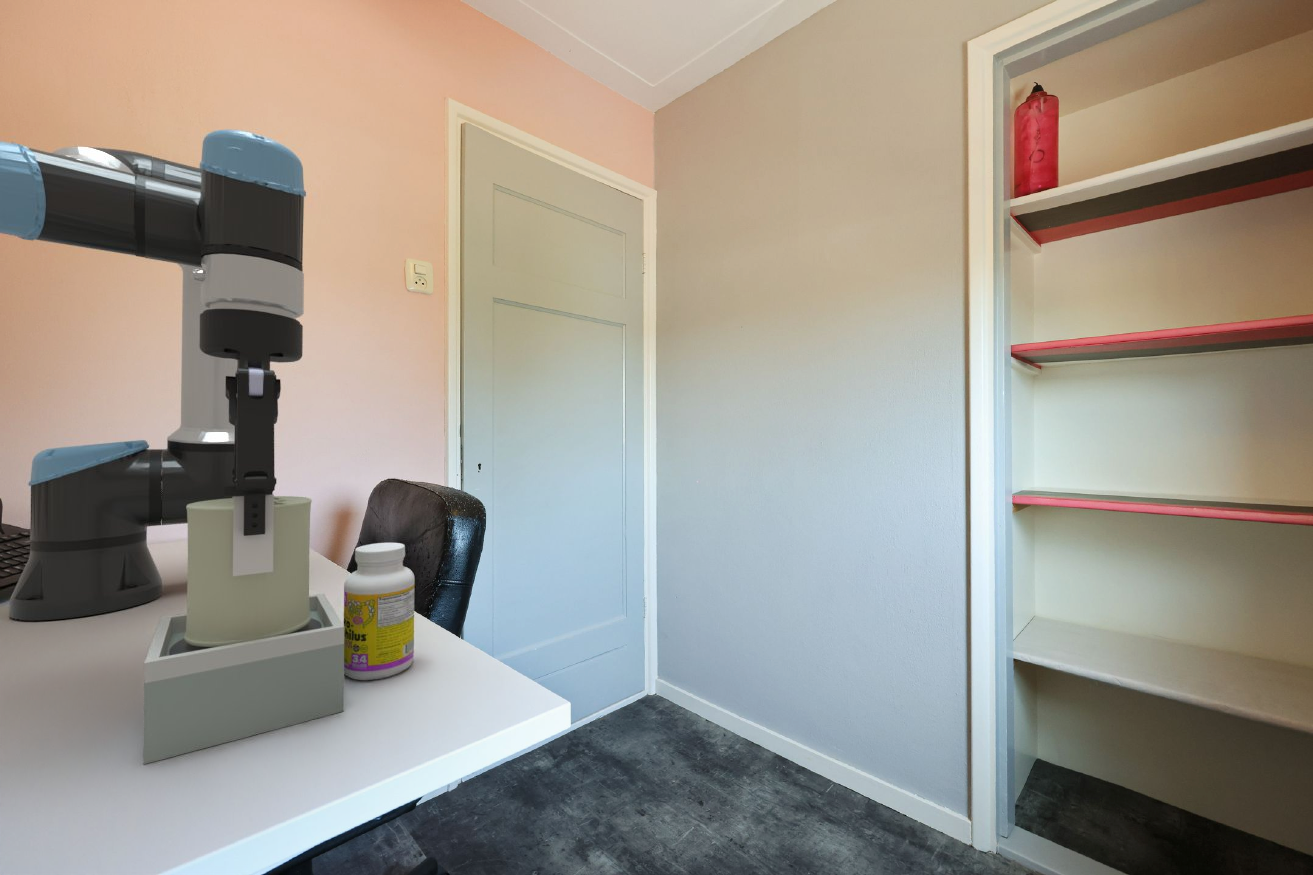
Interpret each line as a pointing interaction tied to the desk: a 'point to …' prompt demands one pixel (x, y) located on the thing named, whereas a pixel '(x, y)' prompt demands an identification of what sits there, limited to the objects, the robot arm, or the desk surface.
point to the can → (246, 576)
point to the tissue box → (239, 684)
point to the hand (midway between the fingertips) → (251, 562)
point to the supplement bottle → (378, 613)
